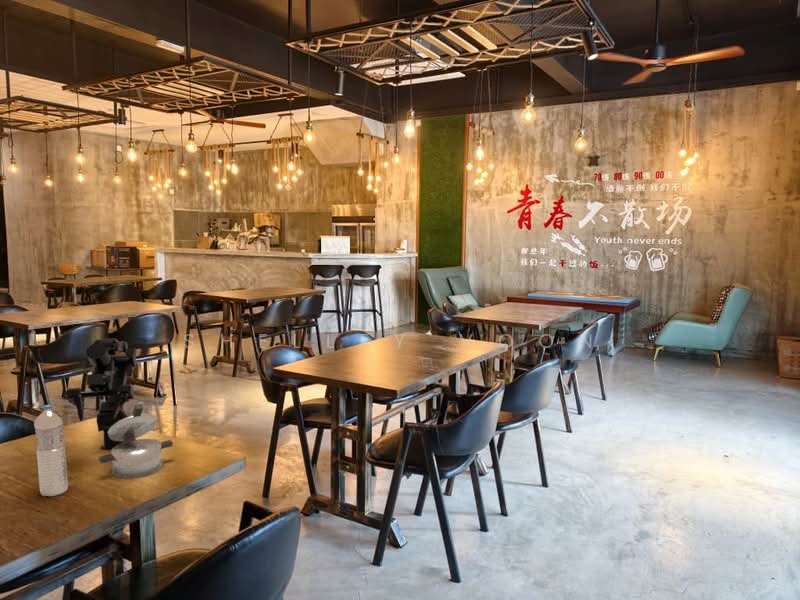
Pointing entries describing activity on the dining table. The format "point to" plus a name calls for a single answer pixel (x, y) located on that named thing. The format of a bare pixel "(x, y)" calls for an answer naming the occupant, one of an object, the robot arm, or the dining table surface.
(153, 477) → the dining table surface
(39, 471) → the water bottle
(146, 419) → the cooker lid
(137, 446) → the cooker pot
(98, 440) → the dining table surface
